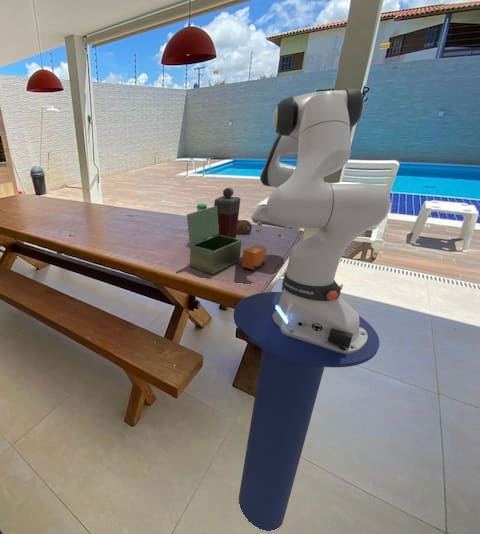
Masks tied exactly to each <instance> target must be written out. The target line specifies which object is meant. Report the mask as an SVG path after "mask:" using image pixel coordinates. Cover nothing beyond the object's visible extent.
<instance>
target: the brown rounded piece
mask: <svg viewBox="0 0 480 534" xmlns="http://www.w3.org/2000/svg"><path fill="white" fill-rule="evenodd" d="M252 229H253V227H252V223H251V222H250V221H249V220H247V219H238V224H237V233H236V234H250V233H251V231H253V230H252Z"/></svg>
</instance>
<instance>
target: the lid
mask: <svg viewBox="0 0 480 534" xmlns="http://www.w3.org/2000/svg"><path fill="white" fill-rule="evenodd" d="M186 221H187V229H188V239H189V245H193V244H195V243H196V242H199V241H201V240H204V239H206V238H211V237H212V236H214V235H217V234H219V225H218V212H217V206H214V205H213V206H211V207H207V208H206V209H204V210H201V211H197V210H196V211H194V212H190V213H188V214H186Z"/></svg>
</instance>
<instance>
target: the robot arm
mask: <svg viewBox="0 0 480 534" xmlns="http://www.w3.org/2000/svg"><path fill="white" fill-rule="evenodd" d="M364 108H365V100H364V94H363V93H362V91H361V90H360V89H358V88H345V89H338V90H337V89H336V90H335V89H334V90H324V91H312V92H309V93H304V94H301V95H300V94H299V95H297V96H296V95H295V96H289V97H286V98H283V99H281V100H280V101H279V102H278V103H277V104H276V107H275V109H274V112H273V115H272V125H273V128H274V131H275V133H276V134H277V135H278V136H277V137H276V139H274V143H273V144H272V147H271V149H270V152H269V154H268V156H267V159H266V162H265V164H264V166H263V167H262V169H261V172H260V176H259V180H260V182H261V184H262V185H263V186H266V187H272V188H275V189H274V190H273V191H272V192H271V193H270V195H269V196H268V198H267V201H266V204H265V203H262V204H259V205H258V206H257V207H256V209H255V211H254V212H253V214H252V215H251V220H252V223H254V224H256V229H255V231H256V233H258V234H259V233H262V230H263V228H262V226H263V225H264V226H269V227H275V228H281V229H282V230H279V231H278V233H277V236H278V238H279V237H280V238H283V237H284V235H286V234H287V233H288V232H289V231H291V230H292V231H299V230H301V229H317V230H316V232H315V233H314V234H313V235H312V236H310V237H308V238H305V239H302V240H300V241H298V242H297V243H295V245H293V246H292V248H291V249H290V250H289V251H290V252H289V257H288V261H287V267H286V272H285V273H284V274H283V279H282V282H281V283H282V284H281V292H282V295H281V298H280V301H279V303H278V306H277V305H276V310H275V311H274V313H273V316H272V317H273V320H274V322H275V323H276V324H277V325H278V326H279V327H280V330H281V333H282V334H284V335H287V336H290V337H293V338H296V339H299V340H302V341H305V342H308V343H312V344H315V345H318V346H321V347H324V348H327V349H330V350H333V351H336V352H340V353H343V354H353V353H356V352H358V351H360V350H361V349H362V348H363V347H364V346H365V344H366V343H367V338H368V335H367V332H366V331H365V329H363V328H361V327H359V324H360V322H359V316H360V315H359V313H358V312H357V310H355V309H354V308H353V307H352V306H351V305H350V304H349V303H347V302H346V301H345V299H344V298H342V297H341V296H340V295H341V291H342V290H343V287H344V283H341V284H340V285H339V284H338V283H337V282H336V280H335V278H336V274H337V271H338V267H339V265H340V261H341V259H342V257H343V254H344V253H345V251H346V250H347V248H348V247H349V246H350V245H351V243H352V242H354V240H355V239H357V238H358V237H359V236H361V235H362V234H363V233H365V232H366V231H369V230H370V229H372V228H374V227H376V226H378V225H380V223H382V222H383V221H384V220H385V219H386V218H387V216H388V214H389V212H390V209H391V205H392V201H391V195H390V194H389V192H388V191H387V190H386V188H385V187H384V186H381V185H377V184H372V183H366V182H365V183H364V182H325V177H327V176H329V175H332V174H334V173H336V172H338V171H340V170H341V169H342V168H344V167H345V166H346V164H347V163H348V162H349V160H350V158H351V155H352V147H351V146H352V145H351V128H353V127H354V126H356V124H357V123H358V122H359V121H360V119H361V117H362V115H363V112H364ZM288 154H297V160H296V164H295V165H292V164H287V163H283V162H281V161H280V158H281V156H283V155H288Z"/></svg>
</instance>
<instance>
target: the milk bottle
mask: <svg viewBox="0 0 480 534" xmlns="http://www.w3.org/2000/svg"><path fill="white" fill-rule="evenodd" d="M207 208H208V205H207V204H206V203H198V204H197V205H196V212H197V211H201V210H204V209H207ZM206 239H208V238H206ZM206 239H204V240H206ZM201 241H203V240H201ZM201 241H199V242H201ZM196 243H198V242H196Z"/></svg>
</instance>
